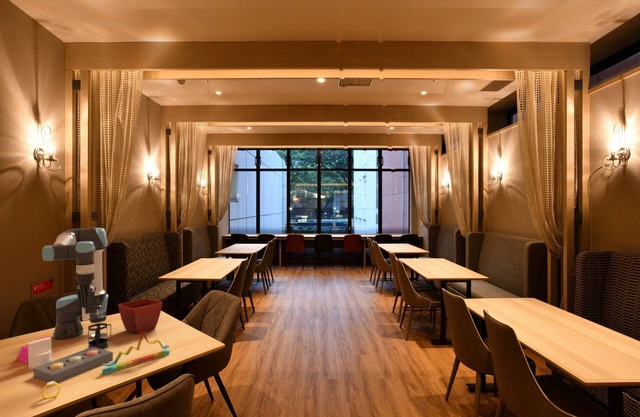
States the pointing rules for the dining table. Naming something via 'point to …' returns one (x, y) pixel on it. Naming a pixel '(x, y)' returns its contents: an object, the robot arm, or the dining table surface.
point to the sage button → (74, 359)
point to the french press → (98, 331)
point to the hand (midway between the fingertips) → (86, 319)
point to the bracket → (25, 353)
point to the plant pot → (140, 315)
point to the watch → (50, 385)
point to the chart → (135, 361)
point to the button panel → (72, 365)
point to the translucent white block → (39, 352)
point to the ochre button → (56, 366)
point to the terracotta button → (91, 352)
